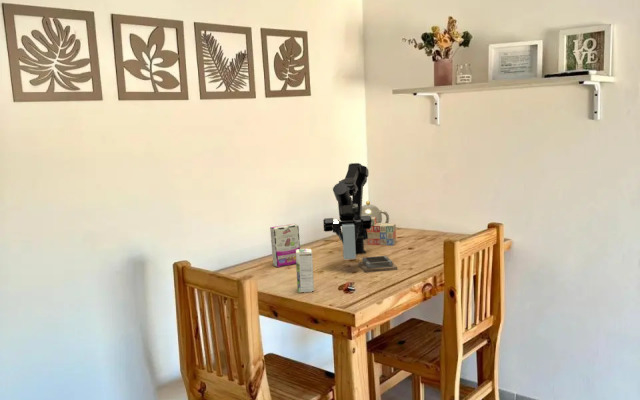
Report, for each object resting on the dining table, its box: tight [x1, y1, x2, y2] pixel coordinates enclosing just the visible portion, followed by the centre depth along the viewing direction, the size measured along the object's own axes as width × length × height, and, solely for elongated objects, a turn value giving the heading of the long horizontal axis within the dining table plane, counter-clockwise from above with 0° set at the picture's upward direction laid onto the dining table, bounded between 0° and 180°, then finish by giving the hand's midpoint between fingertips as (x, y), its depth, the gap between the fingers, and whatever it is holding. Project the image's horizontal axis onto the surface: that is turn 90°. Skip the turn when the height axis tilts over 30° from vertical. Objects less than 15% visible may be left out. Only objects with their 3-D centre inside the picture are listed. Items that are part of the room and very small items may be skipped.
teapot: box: [361, 200, 390, 223], centre depth 296 cm, size 18×14×16 cm
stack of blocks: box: [363, 217, 397, 246], centre depth 273 cm, size 21×6×12 cm, turn 70°
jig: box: [357, 255, 398, 273], centre depth 233 cm, size 13×13×3 cm
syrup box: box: [295, 248, 315, 294], centre depth 207 cm, size 6×6×14 cm
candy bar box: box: [269, 223, 301, 268], centre depth 243 cm, size 11×5×16 cm, turn 117°
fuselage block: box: [341, 223, 357, 260], centre depth 226 cm, size 4×4×13 cm
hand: (349, 241), depth 225 cm, fingers closed on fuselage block, 4 cm apart
